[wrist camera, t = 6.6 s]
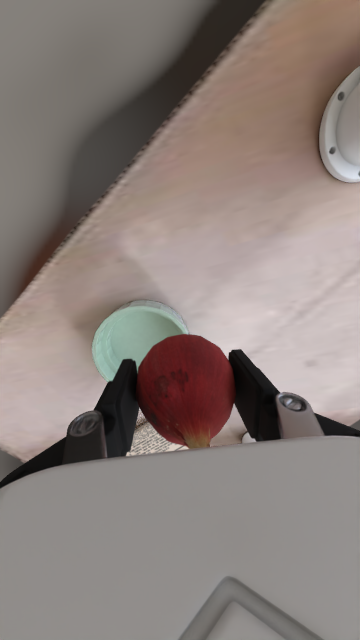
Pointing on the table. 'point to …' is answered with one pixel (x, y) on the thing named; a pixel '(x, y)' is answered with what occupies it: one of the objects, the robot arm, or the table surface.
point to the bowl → (133, 334)
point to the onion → (186, 389)
